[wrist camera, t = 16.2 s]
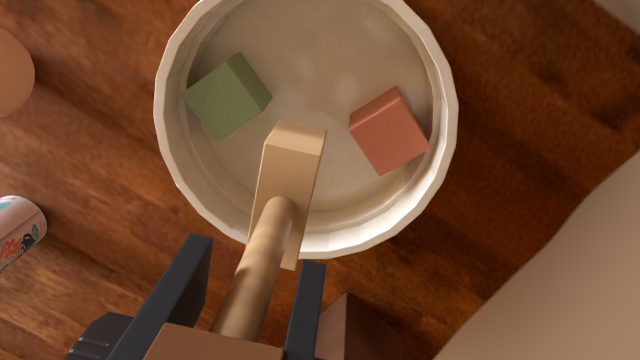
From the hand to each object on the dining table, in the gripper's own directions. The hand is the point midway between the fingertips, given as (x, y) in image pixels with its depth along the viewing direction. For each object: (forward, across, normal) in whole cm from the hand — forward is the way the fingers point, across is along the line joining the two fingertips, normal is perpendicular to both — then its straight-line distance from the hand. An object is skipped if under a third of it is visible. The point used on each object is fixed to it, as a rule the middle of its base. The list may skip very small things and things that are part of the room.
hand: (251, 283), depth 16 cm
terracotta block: (+21, +5, 0) cm, 22 cm away
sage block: (+21, -6, 0) cm, 22 cm away
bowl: (+22, 0, 0) cm, 22 cm away
